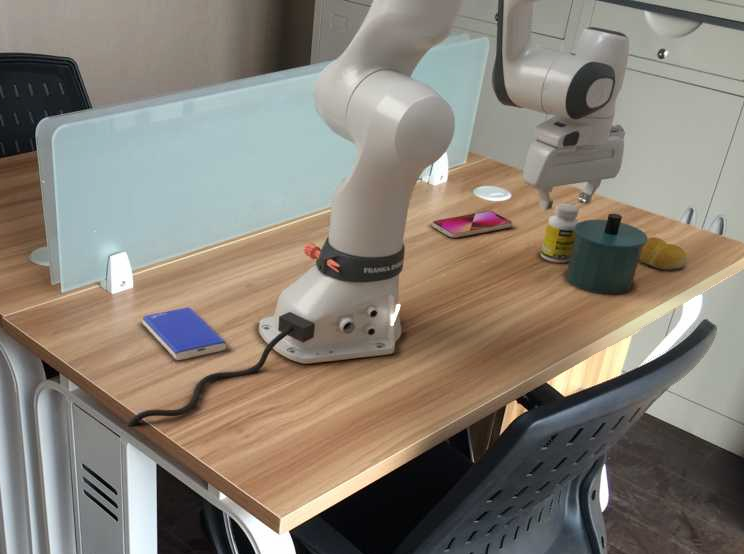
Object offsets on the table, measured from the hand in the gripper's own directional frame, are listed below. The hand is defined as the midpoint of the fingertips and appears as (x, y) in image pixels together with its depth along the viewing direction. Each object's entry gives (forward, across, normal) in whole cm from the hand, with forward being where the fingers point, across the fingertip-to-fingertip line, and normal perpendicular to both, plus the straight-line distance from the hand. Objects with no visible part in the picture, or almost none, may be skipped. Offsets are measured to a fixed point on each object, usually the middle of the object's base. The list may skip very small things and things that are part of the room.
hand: (564, 206), depth 170 cm
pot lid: (+1, 0, +11) cm, 11 cm away
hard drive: (+12, +75, +1) cm, 76 cm away
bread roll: (+10, -18, +9) cm, 22 cm away
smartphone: (+10, +4, -18) cm, 21 cm away
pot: (+10, -1, +11) cm, 15 cm away
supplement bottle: (+10, -1, 0) cm, 10 cm away
